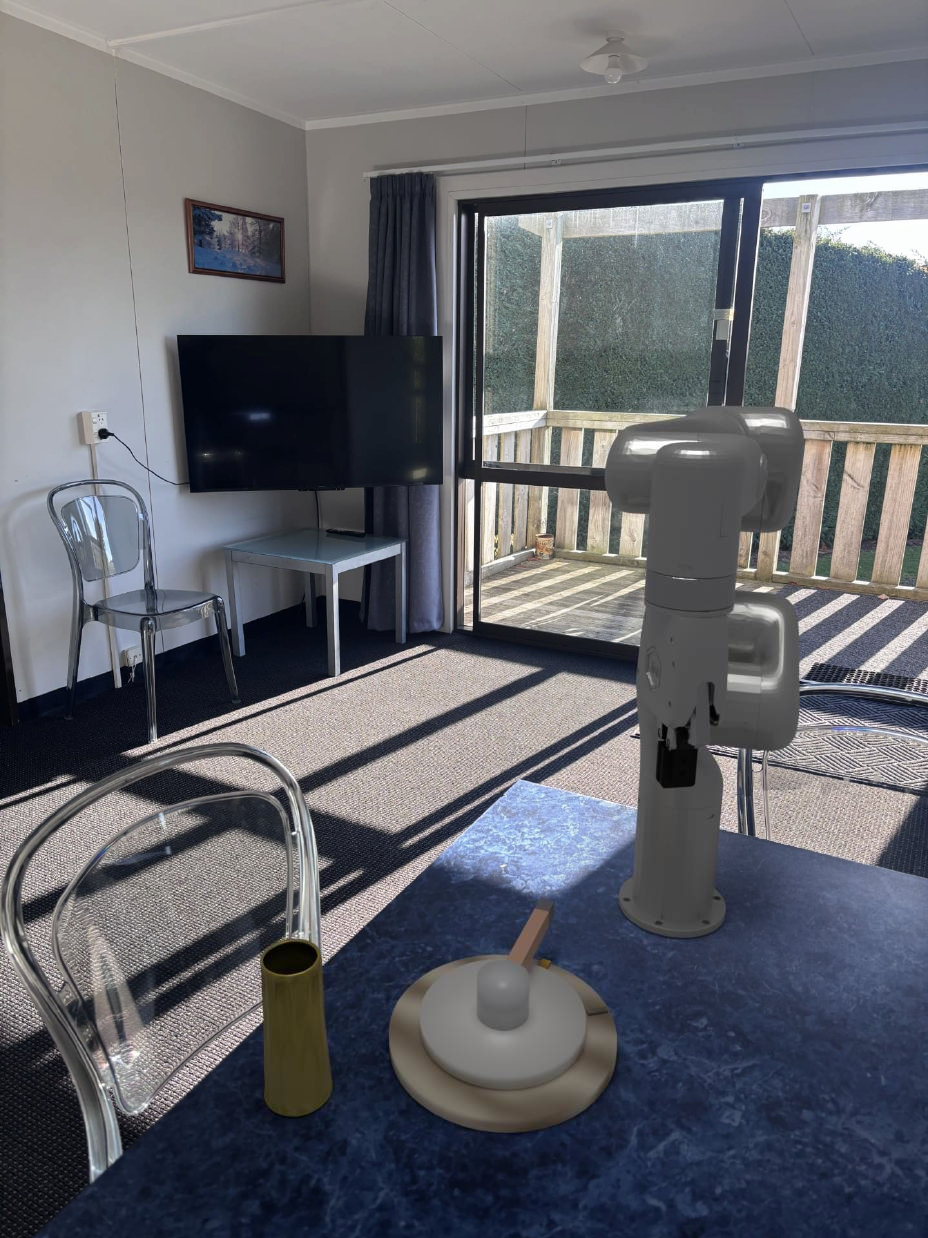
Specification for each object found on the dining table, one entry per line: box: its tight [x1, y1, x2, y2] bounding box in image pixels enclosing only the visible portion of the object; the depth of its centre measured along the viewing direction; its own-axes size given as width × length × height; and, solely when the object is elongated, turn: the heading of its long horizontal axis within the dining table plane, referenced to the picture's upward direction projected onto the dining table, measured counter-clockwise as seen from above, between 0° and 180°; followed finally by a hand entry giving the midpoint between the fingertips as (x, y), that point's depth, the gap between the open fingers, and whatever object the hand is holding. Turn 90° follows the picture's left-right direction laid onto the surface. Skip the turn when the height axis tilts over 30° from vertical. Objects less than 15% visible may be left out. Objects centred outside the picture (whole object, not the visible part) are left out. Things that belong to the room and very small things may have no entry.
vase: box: [259, 938, 334, 1118], centre depth 80 cm, size 6×6×14 cm
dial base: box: [388, 954, 618, 1134], centre depth 88 cm, size 22×22×2 cm
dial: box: [420, 898, 586, 1089], centre depth 90 cm, size 22×16×6 cm
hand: (675, 783), depth 82 cm, fingers closed
